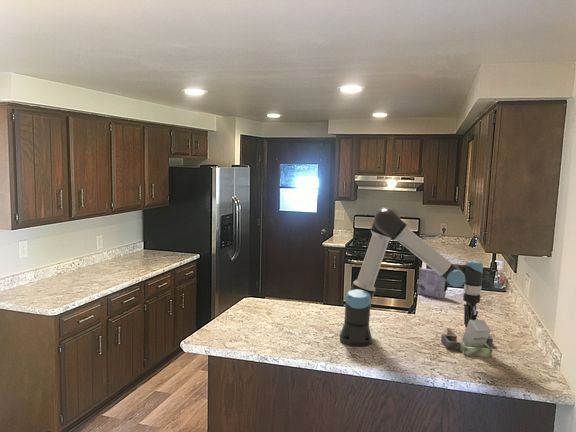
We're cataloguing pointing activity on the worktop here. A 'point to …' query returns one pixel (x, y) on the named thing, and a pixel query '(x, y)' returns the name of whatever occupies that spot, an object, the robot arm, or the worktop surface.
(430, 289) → the cake pan box
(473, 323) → the supplement box
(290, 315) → the worktop surface
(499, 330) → the worktop surface
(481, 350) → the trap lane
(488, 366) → the worktop surface
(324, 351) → the worktop surface
